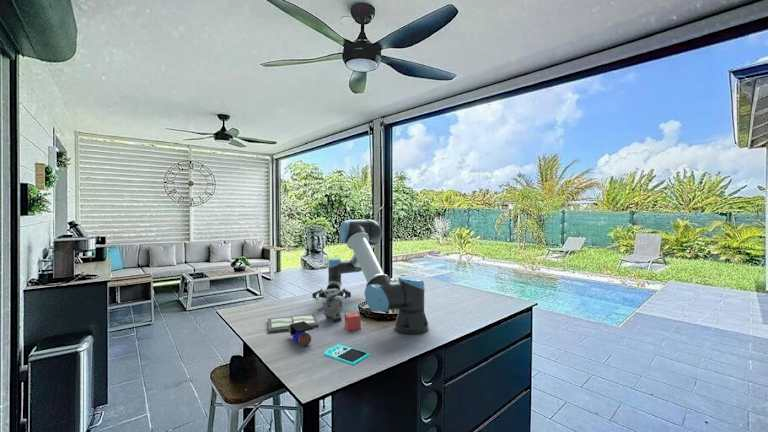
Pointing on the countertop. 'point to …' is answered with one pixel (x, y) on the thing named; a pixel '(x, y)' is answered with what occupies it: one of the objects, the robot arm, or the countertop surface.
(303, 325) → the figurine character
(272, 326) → the divided rectangular tray
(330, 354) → the handheld game console
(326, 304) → the figurine
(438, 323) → the countertop surface
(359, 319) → the red die
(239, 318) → the countertop surface
